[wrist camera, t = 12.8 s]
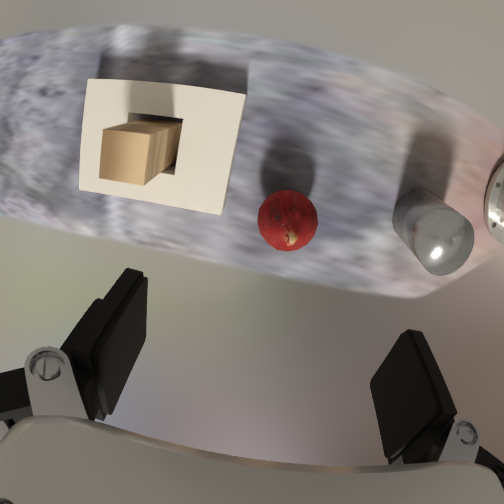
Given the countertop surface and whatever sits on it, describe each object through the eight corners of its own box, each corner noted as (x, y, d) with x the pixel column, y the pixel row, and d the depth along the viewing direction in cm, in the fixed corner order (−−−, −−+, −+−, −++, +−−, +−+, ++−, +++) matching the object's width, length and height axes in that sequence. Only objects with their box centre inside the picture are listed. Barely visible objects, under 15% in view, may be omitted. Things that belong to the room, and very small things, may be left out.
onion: (247, 199, 34) (243, 229, 27) (294, 171, 32) (303, 193, 25) (276, 241, 36) (279, 279, 29) (321, 216, 34) (336, 249, 27)
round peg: (427, 179, 32) (463, 201, 24) (446, 222, 34) (480, 252, 27) (383, 209, 34) (410, 239, 26) (405, 251, 36) (432, 286, 29)
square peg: (182, 123, 30) (150, 134, 21) (176, 160, 32) (143, 185, 23) (146, 118, 30) (103, 129, 21) (141, 154, 32) (98, 178, 23)
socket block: (247, 95, 29) (245, 94, 26) (224, 205, 34) (221, 215, 31) (101, 79, 28) (88, 78, 25) (91, 181, 33) (79, 189, 30)
